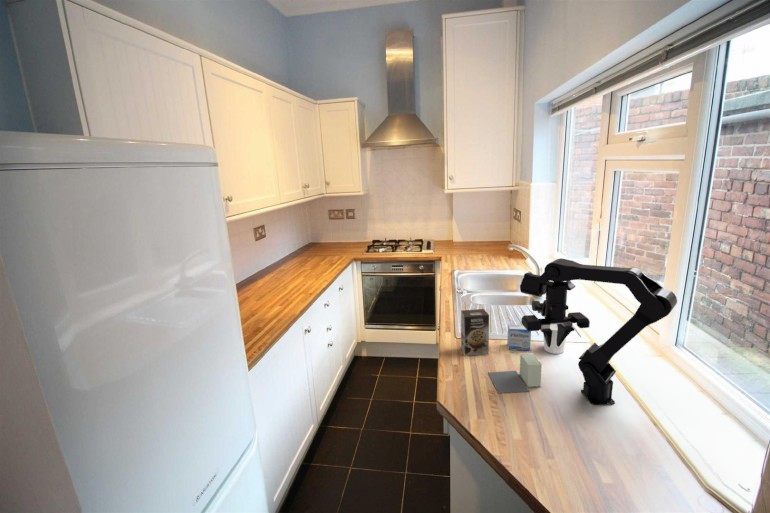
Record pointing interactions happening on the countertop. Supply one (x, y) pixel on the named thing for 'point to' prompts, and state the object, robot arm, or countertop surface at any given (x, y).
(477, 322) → the brown cookie box
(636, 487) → the countertop surface
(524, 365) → the sage block
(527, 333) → the medicine box
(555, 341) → the white cup
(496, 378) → the mat
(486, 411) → the countertop surface
